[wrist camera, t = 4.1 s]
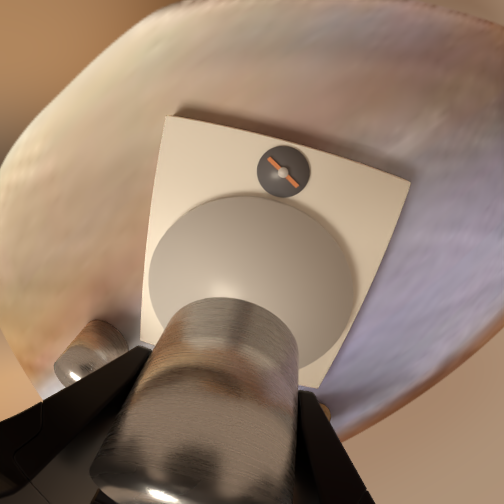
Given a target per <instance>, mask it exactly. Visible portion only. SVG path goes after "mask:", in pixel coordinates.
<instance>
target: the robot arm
mask: <svg viewBox="0 0 504 504" xmlns="http://www.w3.org/2000/svg"><path fill="white" fill-rule="evenodd" d="M151 353H152V350H151V349H148V348H146V347H143V346H136V347H134V348H133V349H131V350H129V351H128V352H126V353H124V354H123V355H121V356H119V357H118V358H116V359H114V360H112V361H111V362H109V363H107V364H106V365H104V366H102V367H100V368H99V369H97V370H95V371H94V372H92V373H90V374H88V375H87V376H85V377H83V378H81V379H80V380H78V381H76V382H75V383H73V384H71V385H69V386H68V387H66V388H64V389H62V390H61V391H59V392H57V393H55V394H54V395H52V396H50V397H48V398H46V399H45V400H43V403H42V402H39V403H38V404H36V405H34V406H32V407H30V408H28V409H27V410H24V411H23V412H21V413H19V414H17V415H15V416H12V417H10V418H8V419H5V420H3V421H1V422H0V504H119V503H117V502H116V501H114V500H113V499H111V498H110V497H109V496H108V495H106V494H105V493H104V492H103V491H102V490H101V489H100V488H99V487H98V486H97V485H96V484H95V483H94V482H93V480H92V478H91V476H90V474H89V469H90V467H91V465H92V463H93V461H94V459H95V457H96V455H97V453H98V451H99V449H100V447H101V445H102V443H103V441H104V439H105V437H106V436H107V434H108V432H109V430H110V428H111V426H112V424H113V422H114V420H115V418H116V417H117V415H118V413H119V411H120V409H121V407H122V405H123V403H124V402H125V400H126V398H127V396H128V394H129V392H130V391H131V389H132V387H133V385H134V383H135V381H136V380H137V378H138V376H139V374H140V372H141V371H142V369H143V367H144V365H145V363H146V362H147V360H148V358H149V356H150V354H151ZM366 489H367V488H366V487H365V485H364V483H363V481H362V479H361V478H360V476H359V474H358V472H357V470H356V469H355V467H354V465H353V463H352V461H351V460H350V458H349V456H348V454H347V453H346V451H345V449H344V447H343V446H342V443H341V442H340V440H339V438H338V436H337V434H336V433H335V431H334V429H333V427H332V425H331V424H330V422H329V420H328V418H327V416H326V414H325V413H324V411H323V409H322V407H321V405H320V404H319V402H318V400H317V398H316V396H315V395H314V393H312V392H309V391H304V390H299V391H298V414H297V440H296V460H295V477H294V493H293V504H375V502H374V500H373V499H372V497H371V495H370V494H369V492H368V491H366Z"/></svg>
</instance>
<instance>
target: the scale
mask: <svg viewBox="0 0 504 504" xmlns="http://www.w3.org/2000/svg"><path fill="white" fill-rule="evenodd" d="M410 185H411V183H410V182H409V181H407V180H405V179H403V178H401V177H398V176H395V175H393V174H390V173H387V172H385V171H382V170H379V169H376V168H373V167H371V166H368V165H365V164H362V163H359V162H356V161H353V160H350V159H347V158H344V157H341V156H338V155H335V154H331V153H328V152H325V151H322V150H318V149H315V148H312V147H308V146H305V145H301V144H298V143H294V142H291V141H287V140H283V139H279V138H276V137H272V136H268V135H264V134H260V133H256V132H252V131H248V130H243V129H239V128H234V127H230V126H225V125H221V124H216V123H211V122H206V121H201V120H196V119H191V118H185V117H179V116H174V115H166V119H165V124H164V129H163V134H162V140H161V145H160V151H159V157H158V162H157V169H156V175H155V181H154V188H153V195H152V202H151V210H150V218H149V226H148V235H147V245H146V255H145V266H144V278H143V292H142V309H141V331H140V340H141V341H144V342H147V343H149V344H152V345H156V344H157V342H158V340H159V338H160V337H161V335H162V333H163V331H164V330H165V328H166V326H167V324H168V323H169V321H170V319H171V318H172V317H173V315H174V314H175V313H176V312H177V311H178V310H180V309H181V308H182V307H184V306H186V305H187V304H189V303H192V302H194V301H197V300H201V299H205V298H212V297H228V298H236V299H241V300H245V301H248V302H251V303H254V304H256V305H259V306H261V307H263V308H265V309H267V310H268V311H270V312H272V313H273V314H274V315H276V316H277V317H278V318H280V319H281V320H282V321H283V322H284V323H285V324H286V326H287V327H288V328H289V329H290V331H291V332H292V334H293V336H294V337H295V340H296V342H297V345H298V350H299V379H298V385H302V386H307V387H312V388H317V389H318V387H319V386H320V384H321V382H322V380H323V379H324V377H325V375H326V373H327V371H328V370H329V368H330V366H331V364H332V362H333V360H334V359H335V357H336V355H337V353H338V351H339V349H340V347H341V345H342V343H343V341H344V340H345V338H346V336H347V334H348V332H349V330H350V328H351V326H352V324H353V322H354V320H355V318H356V316H357V313H358V311H359V309H360V307H361V305H362V303H363V301H364V299H365V297H366V294H367V292H368V290H369V288H370V286H371V283H372V281H373V279H374V277H375V274H376V272H377V270H378V268H379V265H380V263H381V261H382V258H383V256H384V253H385V251H386V249H387V246H388V244H389V241H390V239H391V236H392V234H393V231H394V228H395V226H396V223H397V221H398V218H399V215H400V213H401V210H402V207H403V205H404V202H405V199H406V196H407V193H408V190H409V188H410Z"/></svg>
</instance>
